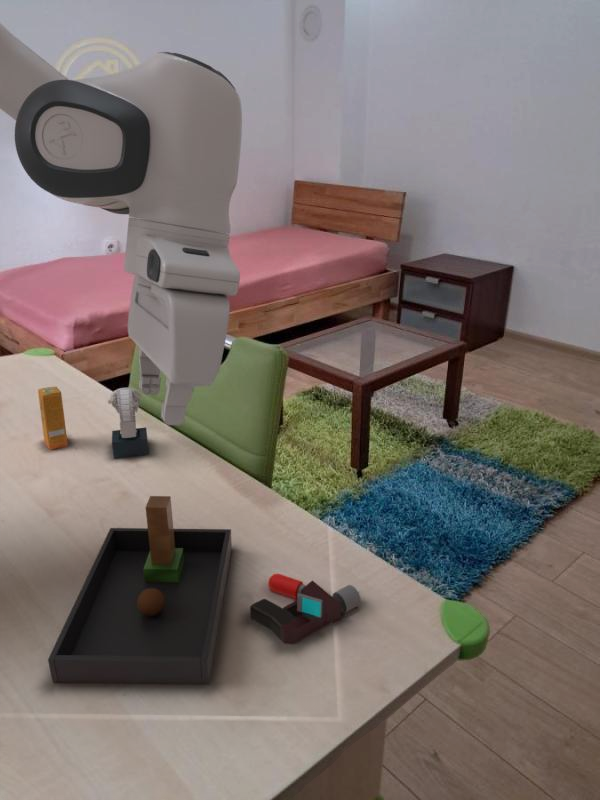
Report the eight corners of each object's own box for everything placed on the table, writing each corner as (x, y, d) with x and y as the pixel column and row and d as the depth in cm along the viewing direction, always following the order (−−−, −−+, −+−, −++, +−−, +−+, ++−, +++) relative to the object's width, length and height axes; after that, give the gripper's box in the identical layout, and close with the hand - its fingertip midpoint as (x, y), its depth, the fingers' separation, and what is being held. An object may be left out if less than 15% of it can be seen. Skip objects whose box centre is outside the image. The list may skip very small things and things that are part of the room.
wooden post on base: (144, 582, 75) (136, 511, 71) (152, 560, 78) (144, 491, 74) (178, 582, 75) (172, 511, 71) (184, 561, 78) (178, 492, 74)
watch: (147, 438, 109) (141, 379, 105) (149, 460, 102) (142, 398, 98) (113, 442, 108) (106, 382, 104) (113, 465, 101) (105, 402, 96)
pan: (53, 687, 62) (47, 659, 60) (113, 550, 81) (110, 527, 80) (208, 688, 62) (206, 661, 60) (231, 552, 81) (230, 529, 79)
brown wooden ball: (135, 622, 69) (132, 601, 68) (141, 603, 72) (139, 582, 70) (163, 622, 69) (160, 601, 68) (168, 603, 72) (166, 582, 70)
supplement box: (70, 445, 107) (62, 391, 103) (49, 451, 105) (40, 396, 101) (65, 438, 109) (56, 384, 105) (44, 443, 107) (34, 389, 103)
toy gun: (370, 607, 72) (372, 573, 70) (286, 658, 65) (286, 622, 63) (315, 564, 79) (316, 532, 77) (234, 605, 72) (233, 571, 70)
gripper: (119, 244, 64) (107, 376, 67) (168, 267, 46) (149, 443, 50) (180, 253, 67) (166, 379, 70) (248, 277, 49) (224, 444, 53)
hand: (159, 406), depth 60 cm, fingers open, 8 cm apart
